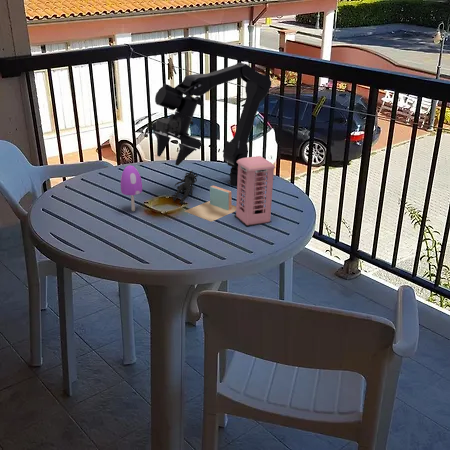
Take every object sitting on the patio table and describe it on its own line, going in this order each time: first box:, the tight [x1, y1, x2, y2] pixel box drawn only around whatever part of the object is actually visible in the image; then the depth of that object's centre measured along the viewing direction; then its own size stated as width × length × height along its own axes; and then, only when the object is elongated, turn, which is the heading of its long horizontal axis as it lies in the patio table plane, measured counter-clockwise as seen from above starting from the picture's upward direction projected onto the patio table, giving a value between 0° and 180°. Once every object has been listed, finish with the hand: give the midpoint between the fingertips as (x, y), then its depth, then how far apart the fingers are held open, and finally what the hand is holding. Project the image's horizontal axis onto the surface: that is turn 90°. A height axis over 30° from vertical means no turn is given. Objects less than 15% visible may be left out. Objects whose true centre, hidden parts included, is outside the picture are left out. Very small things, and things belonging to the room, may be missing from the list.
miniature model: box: [233, 155, 276, 228], centre depth 165 cm, size 9×9×20 cm
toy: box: [120, 164, 143, 212], centre depth 173 cm, size 7×7×15 cm
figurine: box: [171, 170, 199, 205], centre depth 187 cm, size 7×6×18 cm
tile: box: [209, 185, 233, 210], centre depth 177 cm, size 2×8×6 cm, turn 47°
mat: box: [184, 200, 236, 222], centre depth 176 cm, size 14×12×1 cm
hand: (167, 160), depth 178 cm, fingers open, 9 cm apart
